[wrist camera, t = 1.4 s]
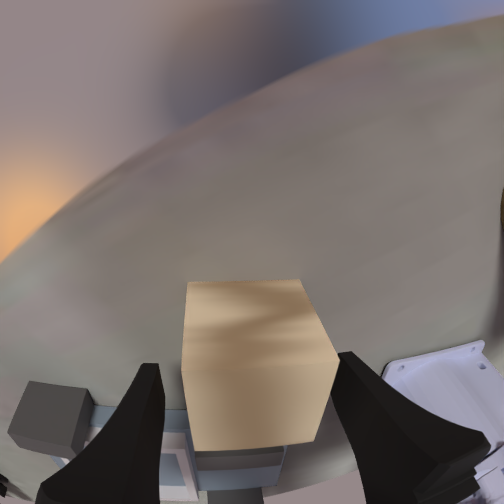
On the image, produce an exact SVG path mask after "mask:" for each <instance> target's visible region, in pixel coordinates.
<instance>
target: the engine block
mask: <svg viewBox="0 0 504 504" xmlns="http://www.w3.org/2000/svg"><path fill="white" fill-rule="evenodd" d="M339 362H340V360H339V358H338V356H337V354H336V352H335V350H334V348H333V346H332V344H331V342H330V340H329V338H328V336H327V334H326V332H325V330H324V328H323V326H322V324H321V322H320V320H319V318H318V316H317V314H316V312H315V310H314V308H313V306H312V304H311V302H310V300H309V298H308V296H307V294H306V292H305V290H304V288H303V286H302V284H301V282H300V280H299V279H298V280H267V281H227V282H188V286H187V297H186V309H185V322H184V335H183V350H182V367H181V372H182V379H183V386H184V392H185V399H186V405H187V411H188V417H189V423H190V428H191V434H192V439H193V445H194V450H195V451H221V450H240V449H254V448H265V447H274V446H283V445H291V444H298V443H305V442H311V441H314V439H315V436H316V433H317V430H318V427H319V424H320V422H321V419H322V416H323V413H324V410H325V407H326V404H327V401H328V398H329V395H330V391H331V388H332V385H333V382H334V378H335V375H336V372H337V368H338V365H339Z"/></svg>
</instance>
